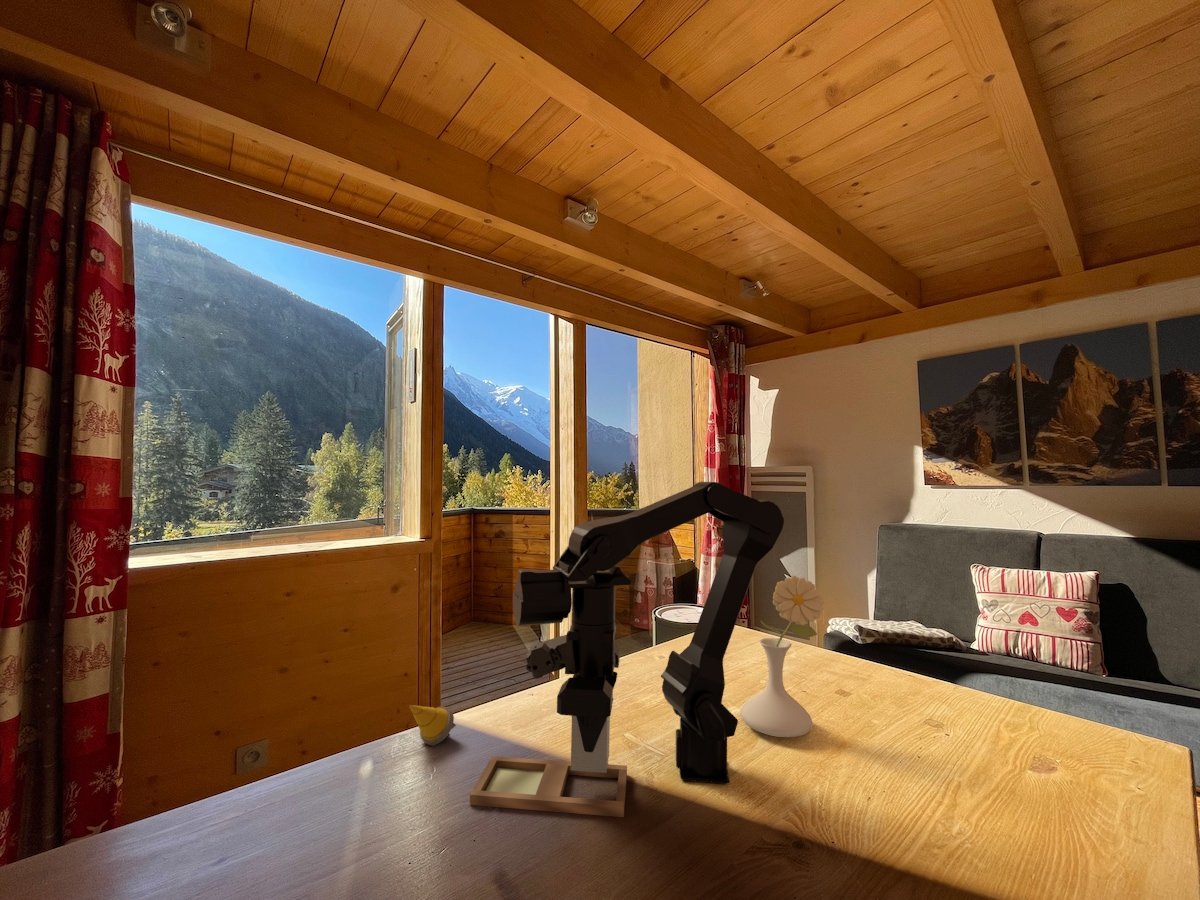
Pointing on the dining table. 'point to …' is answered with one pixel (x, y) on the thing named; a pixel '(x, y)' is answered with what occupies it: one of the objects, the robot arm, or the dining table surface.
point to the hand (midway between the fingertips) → (590, 741)
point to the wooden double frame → (542, 787)
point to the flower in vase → (774, 704)
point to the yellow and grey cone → (433, 723)
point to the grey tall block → (590, 760)
